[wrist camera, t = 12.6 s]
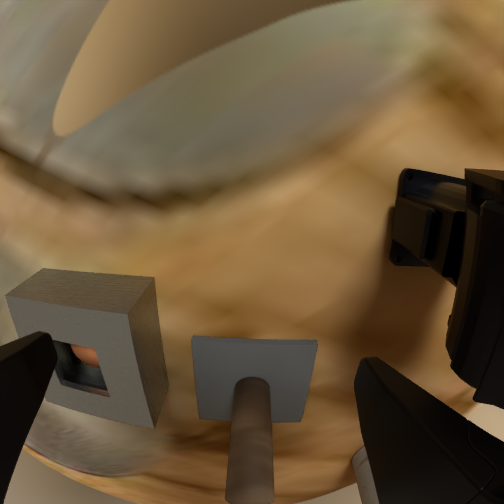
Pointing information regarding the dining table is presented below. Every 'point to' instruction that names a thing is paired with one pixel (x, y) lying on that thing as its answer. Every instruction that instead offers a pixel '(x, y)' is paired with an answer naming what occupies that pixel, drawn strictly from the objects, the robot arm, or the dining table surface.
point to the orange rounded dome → (86, 355)
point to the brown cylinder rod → (250, 445)
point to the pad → (252, 374)
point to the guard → (98, 341)
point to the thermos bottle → (364, 477)
